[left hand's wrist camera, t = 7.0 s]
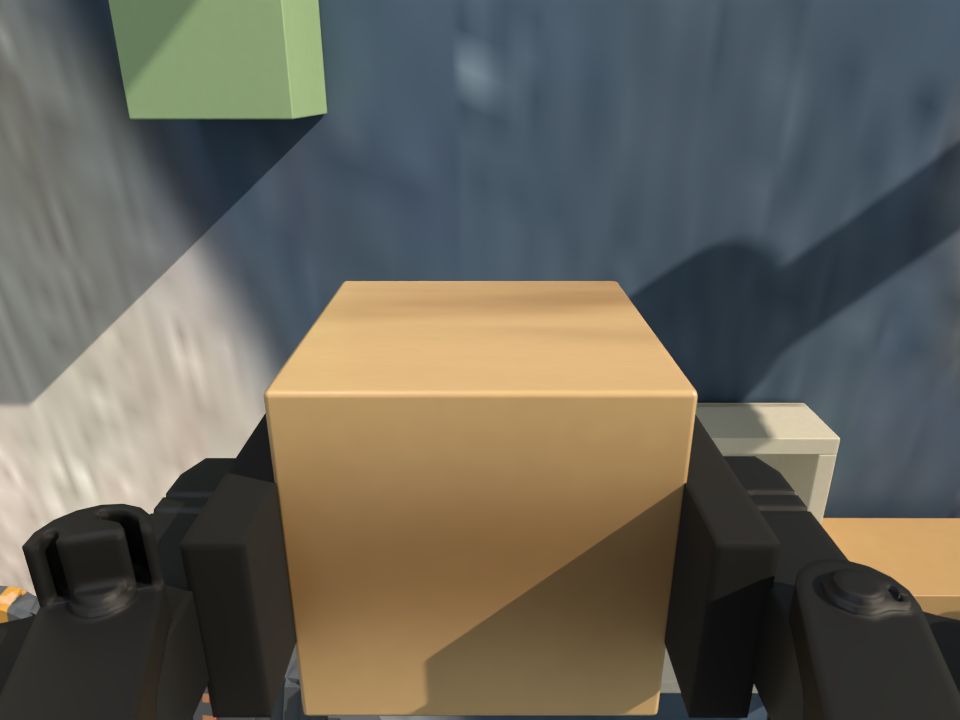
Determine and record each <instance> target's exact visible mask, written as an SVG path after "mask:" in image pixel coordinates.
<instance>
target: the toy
mask: <svg viewBox="0 0 960 720" xmlns="http://www.w3.org/2000/svg"><path fill="white" fill-rule="evenodd" d="M39 607H40V605H39V602H38V599H37V597H36V596H34V595H32V594H30V593H29V592H27V591H21V588H16V587H7V586H0V623H4V622H8V621H13V620H18V619H22V618H26V617H30V616H33V615H36V614H37V612H38V610H39ZM193 719H194V720H381V719H380V718H379V716H308V715H305V714H304V711H303V704H302V696H301V688H300V680H299V672H298V664H297V656H296V648H295V647H294V650H293V653H292V656H291V659H290V662H289V665H288V668H287V671H286V674H285V678H284V681H283V684H282V687H281V690H280V693H279V696H278V699H277V702H276V705H275V708H274V711H273V714H272V717H271V718H213V714H212V709H211V704H210V699H209V693H208V688H207V687H206V689H205V691H204V694H203V696H202V698H201V700H200V702H199V705H198V707H197V709H196V711H195V713H194V716H193Z"/></svg>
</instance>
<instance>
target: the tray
mask: <svg viewBox="0 0 960 720" xmlns="http://www.w3.org/2000/svg"><path fill="white" fill-rule="evenodd" d="M695 414H696V416H697V417H698V419H699V420H700V422H701V423H702V425H703V426H704V428H705V429H706V431H707V432H708V434H709V435H710V437H711V438H712V440H713V441H714V443H715V445H716V446H717V448H718V449H719V451H720V452H721V454H722V455H723V456H755V457H757V458H759V459H760V460H762V461H763V462H765V463H766V464H768V465H769V466H771V467H772V468H774V469H776V470H777V471H779V472H780V473H781V474H782V476H783V477H784V478H785V479H786V481H787V482H788V483H789V485H790V486H791V487H792V488H793V490H794V491H795V495H798V496H799V497H800V499H801V500H802V501H803V502H804V504H805V505H806V506H807V511H811V513H812V514H813V515H814V517H815V518H816V519H817V520H818V522H819V523H820V524H821V526H822V527H823V528H824V529H825V531H826V532H827V533H828V535H829V536H830V537H831V538H832V540H833V541H834V542H835V544H836V545H837V546H838V547H839V549H840V550H841V551H842V553H843V554H844V555H845V556H846V558H847V559H848V560H849V561H851V562H855V563H858V564H862V565H866V566H869V567H871V568H873V569H876V570H878V571H880V572H882V573H884V574H886V575H888V576H890V577H892V578H893V579H895V580H896V581H897V582H899V583H900V584H901V585H902V586H904V587H905V588H906V589H908V590H909V591H910V592H911V594H912V595H913V596H914V598H915V599H916V601H917V602H918V603H919V605H920V606H921V608H922V611H924V612H927V613H931V614H935V615H938V616H943V617H947V618H952V619H957V620H960V518H823V515H824V510H825V506H826V501H827V497H828V492H829V487H830V483H831V478H832V474H833V469H834V465H835V460H836V454H837V451H838V447H839V442H840V438H839V437H838V436H837V435H836V434H835V433H834V432H833V431H832V430H831V429H830V428H829V427H828V426H827V425H826V424H825V423H824V422H823V421H822V420H821V419H820V418H819V417H818V416H817V415H816V414H815V413H814V412H813V411H812V410H810V409H809V408H808V407H807V406H806V405H805V404H804V403H697V405H696V413H695ZM660 693H681V691H680V688H679V685H678V682H677V679H676V676H675V673H674V670H673V667H672V664H671V661H670V658H669V655H668V652H667V649H666V650H665V657H664V665H663V673H662V681H661V689H660ZM752 693H758V691H757V689H756V687H755V685H754V686H753V691H752Z"/></svg>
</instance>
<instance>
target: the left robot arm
mask: <svg viewBox="0 0 960 720" xmlns="http://www.w3.org/2000/svg"><path fill="white" fill-rule="evenodd" d="M22 548H23V552H24V555H25V558H26V562H27V565H28V568H29V572H30V575H31V578H32V582H33V585H34V589H35V592H36V595H37V599H38V602H39V605H40V607H39V610H38V612H37V614H36V615H33V616H30V617H26V618H22V619H18V620H13V621H8V622H4V623H0V720H194V719H193V716H194V713H195V711H196V709H197V707H198V705H199V702H200V700H201V698H202V696H203V694H204V691H205V689H206V687H207V688H208V693H209V699H210V704H211V709H212V714H213V718H271V717H272V714H273V711H274V708H275V705H276V702H277V699H278V696H279V693H280V690H281V687H282V684H283V681H284V678H285V674H286V671H287V668H288V665H289V662H290V659H291V656H292V653H293V650H294V647H295V644H296V639H295V631H294V623H293V615H292V607H291V599H290V591H289V583H288V575H287V567H286V559H285V551H284V543H283V535H282V527H281V519H280V511H279V503H278V495H277V487H276V483H275V481H274V474H273V466H272V458H271V450H270V442H269V434H268V426H267V419H266V413H265V415H264V416H263V418H262V419H261V421H260V422H259V424H258V426H257V427H256V429H255V430H254V432H253V433H252V435H251V436H250V438H249V439H248V441H247V442H246V444H245V445H244V447H243V448H242V450H241V451H240V453H239V454H238V456H237V457H236V458H206V459H204V460H203V461H201V462H199V463H198V464H196V465H195V466H193V467H192V468H190V469H189V470H187V471H186V472H184V473H183V474H181V475H180V476H179V478H178V479H177V480H176V482H175V483H174V484H173V485H172V487H171V488H170V489H169V491H168V492H167V493H166V497H163V498H162V500H161V501H160V502H159V504H158V505H157V506H156V507H155V509H154V513H153V514H150V515H149V514H148V513H147V512H145V511H144V510H143V509H142V508H140V507H135V506H131V505H126V504H111V505H99V506H95V507H90V508H86V509H81V510H77V511H75V512H72V513H70V514H67V515H65V516H63V517H60V518H58V519H55V520H53V521H52V522H50V523H49V524H47V525H45V526H44V527H42V528H41V529H39V530H38V531H36V532H35V533H34V534H33V535H32V536H31V537H30V538H29V539H28V541H27V542H26V543H25V544H24V545H23V546H22ZM664 643H665V646H666V649H667V652H668V655H669V658H670V661H671V664H672V667H673V670H674V673H675V676H676V679H677V682H678V685H679V688H680V691H681V694H682V697H683V700H684V703H685V706H686V709H687V712H688V715H689V718H747V716H748V711H749V706H750V701H751V696H752V691H753V686H754V685H755V687H756V689H757V691H758V693H759V696H760V698H761V700H762V702H763V704H764V707H765V709H766V711H767V713H768V714H767V719H766V720H960V620H957V619H952V618H947V617H943V616H938V615H935V614H931V613H927V612H924V611H922V608H921V606H920V605H919V603H918V602H917V601H916V599H915V598H914V596H913V595H912V594H911V592H910V591H909V590H908V589H906V588H905V587H904V586H902V585H901V584H900V583H899V582H897V581H896V580H895V579H893V578H892V577H890V576H888V575H886V574H884V573H882V572H880V571H878V570H876V569H873V568H871V567H869V566H866V565H862V564H858V563H855V562H851V561H849V560H848V559H847V558H846V556H845V555H844V554H843V553H842V551H841V550H840V549H839V547H838V546H837V545H836V544H835V542H834V541H833V540H832V538H831V537H830V536H829V535H828V533H827V532H826V531H825V529H824V528H823V527H822V526H821V524H820V523H819V522H818V520H817V519H816V518H815V517H814V515H813V514H812V513H811V511H807V506H806V505H805V504H804V502H803V501H802V500H801V499H800V497H799V496H798V495H795V491H794V490H793V488H792V487H791V486H790V485H789V483H788V482H787V481H786V479H785V478H784V477H783V476H782V474H781V473H780V472H779V471H777V470H776V469H774V468H772V467H771V466H769V465H768V464H766V463H765V462H763V461H762V460H760V459H759V458H757V457H755V456H723V455H722V454H721V452H720V451H719V449H718V448H717V446H716V445H715V443H714V441H713V440H712V438H711V437H710V435H709V434H708V432H707V431H706V429H705V428H704V426H703V425H702V423H701V422H700V420H699V419H698V417H697V416H696V414H695V421H694V429H693V436H692V444H691V452H690V460H689V468H688V476H687V482H686V483H684V491H683V499H682V507H681V515H680V523H679V531H678V539H677V546H676V554H675V562H674V570H673V578H672V586H671V594H670V602H669V610H668V618H667V626H666V634H665V642H664Z"/></svg>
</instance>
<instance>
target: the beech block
mask: <svg viewBox="0 0 960 720" xmlns="http://www.w3.org/2000/svg"><path fill="white" fill-rule="evenodd" d="M697 397H698V395H697V392H696V390H695V389H694V387H693V386H692V385H691V383H690V382H689V381H688V379H687V378H686V376H685V375H684V374H683V372H682V371H681V370H680V368H679V367H678V365H677V364H676V363H675V361H674V360H673V359H672V357H671V356H670V354H669V353H668V352H667V350H666V349H665V348H664V346H663V345H662V343H661V342H660V341H659V339H658V338H657V337H656V335H655V334H654V332H653V331H652V330H651V328H650V327H649V326H648V324H647V323H646V321H645V320H644V319H643V317H642V316H641V315H640V313H639V312H638V310H637V309H636V308H635V306H634V305H633V304H632V302H631V301H630V299H629V298H628V297H627V295H626V294H625V293H624V291H623V290H622V288H621V287H620V286H619V284H618V283H617V282H615V281H346V282H343V284H342V285H341V286H340V288H339V289H338V291H337V292H336V293H335V295H334V296H333V297H332V299H331V300H330V302H329V303H328V304H327V306H326V307H325V309H324V310H323V311H322V313H321V314H320V316H319V317H318V318H317V320H316V321H315V323H314V324H313V325H312V327H311V328H310V330H309V331H308V332H307V334H306V335H305V336H304V338H303V339H302V341H301V342H300V343H299V345H298V346H297V348H296V349H295V350H294V352H293V353H292V355H291V356H290V357H289V359H288V360H287V362H286V363H285V364H284V366H283V367H282V368H281V370H280V371H279V373H278V374H277V375H276V377H275V378H274V380H273V381H272V382H271V384H270V385H269V387H268V388H267V389H266V391H265V393H264V403H265V411H266V419H267V426H268V434H269V442H270V450H271V458H272V466H273V474H274V481H275V483H276V487H277V495H278V503H279V511H280V519H281V527H282V535H283V543H284V551H285V559H286V567H287V575H288V583H289V591H290V599H291V607H292V615H293V623H294V631H295V639H296V644H295V648H296V656H297V664H298V672H299V680H300V688H301V696H302V704H303V711H304V714H305V715H308V716H500V715H655V714H657V711H658V705H659V697H660V689H661V681H662V673H663V665H664V657H665V650H666V646H665V643H664V642H665V634H666V626H667V618H668V610H669V602H670V594H671V586H672V578H673V570H674V562H675V554H676V546H677V539H678V531H679V523H680V515H681V507H682V499H683V491H684V483H686V482H687V476H688V468H689V460H690V452H691V444H692V436H693V429H694V421H695V413H696V405H697Z"/></svg>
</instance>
